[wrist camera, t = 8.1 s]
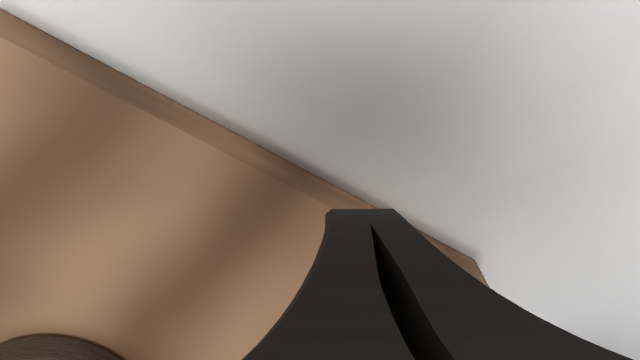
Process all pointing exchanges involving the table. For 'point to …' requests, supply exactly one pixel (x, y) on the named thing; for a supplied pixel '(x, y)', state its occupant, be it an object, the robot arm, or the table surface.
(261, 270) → the bench block
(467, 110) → the table surface
